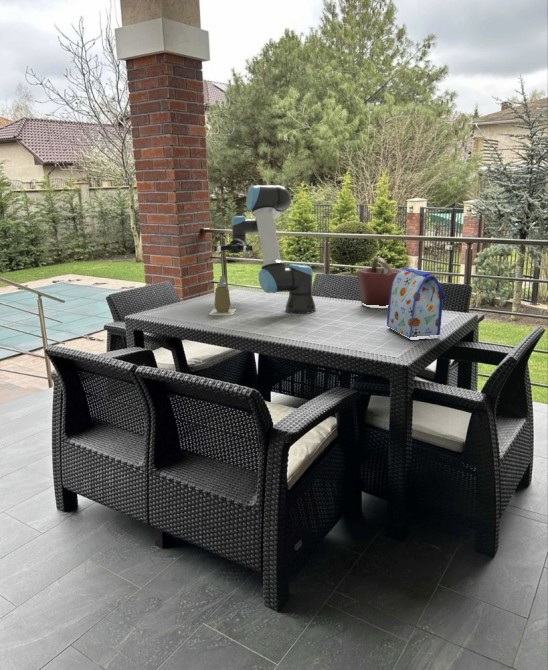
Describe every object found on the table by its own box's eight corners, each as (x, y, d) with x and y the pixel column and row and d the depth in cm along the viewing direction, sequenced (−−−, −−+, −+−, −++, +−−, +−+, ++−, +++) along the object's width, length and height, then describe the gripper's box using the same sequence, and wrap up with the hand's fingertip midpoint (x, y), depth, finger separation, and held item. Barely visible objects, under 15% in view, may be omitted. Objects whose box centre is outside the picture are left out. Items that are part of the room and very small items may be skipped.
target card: (236, 310, 274) (236, 308, 273) (232, 315, 262) (232, 313, 262) (213, 310, 274) (213, 308, 274) (208, 315, 263) (208, 313, 263)
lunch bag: (447, 338, 215) (451, 272, 208) (410, 342, 211) (413, 275, 204) (417, 326, 236) (421, 265, 229) (383, 329, 232) (386, 267, 225)
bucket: (400, 311, 266) (403, 261, 259) (356, 310, 269) (357, 260, 263) (397, 301, 289) (399, 255, 283) (356, 301, 293) (357, 255, 286)
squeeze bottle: (216, 313, 263) (214, 277, 259) (213, 310, 271) (212, 275, 266) (232, 312, 265) (231, 276, 261) (229, 309, 273) (228, 274, 268)
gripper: (259, 252, 294) (255, 256, 274) (214, 252, 296) (207, 257, 276) (259, 238, 293) (254, 242, 272) (214, 239, 294) (206, 242, 274)
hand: (230, 249), depth 274 cm, fingers open, 13 cm apart
